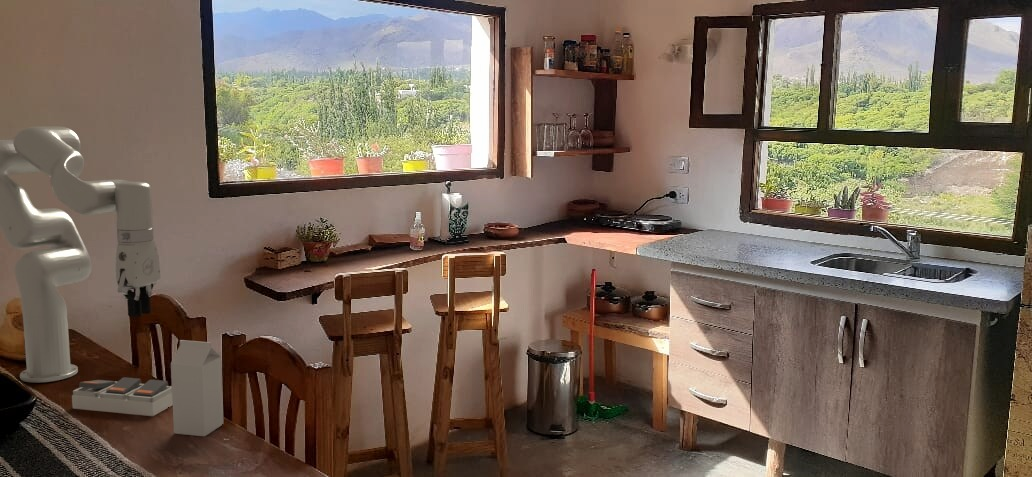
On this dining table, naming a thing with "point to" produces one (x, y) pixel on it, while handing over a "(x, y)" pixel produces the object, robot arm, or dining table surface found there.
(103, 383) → the rocker
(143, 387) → the rocker
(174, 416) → the milk carton
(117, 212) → the robot arm
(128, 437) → the dining table surface
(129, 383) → the rocker
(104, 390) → the rocker switch box
